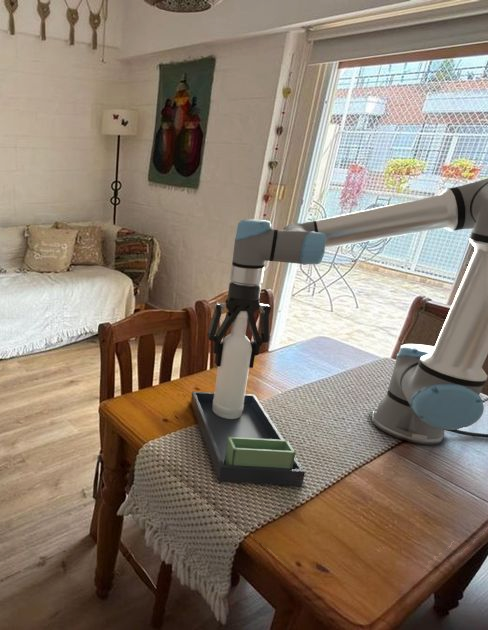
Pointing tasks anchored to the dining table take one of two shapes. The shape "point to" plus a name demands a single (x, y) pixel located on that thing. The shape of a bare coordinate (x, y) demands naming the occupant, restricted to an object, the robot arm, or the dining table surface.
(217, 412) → the bottle
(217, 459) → the tray
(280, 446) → the green open box
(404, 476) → the dining table surface
